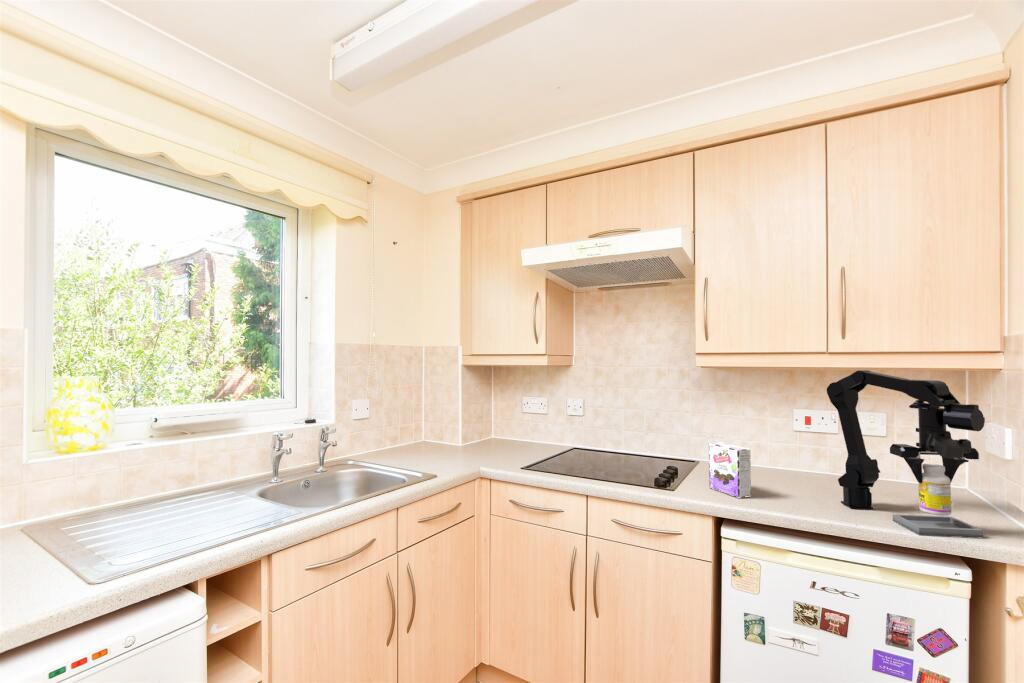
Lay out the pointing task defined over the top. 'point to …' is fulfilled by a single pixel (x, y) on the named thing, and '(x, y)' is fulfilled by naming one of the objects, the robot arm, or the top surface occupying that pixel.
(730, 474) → the candy box
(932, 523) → the tray
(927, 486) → the supplement bottle
